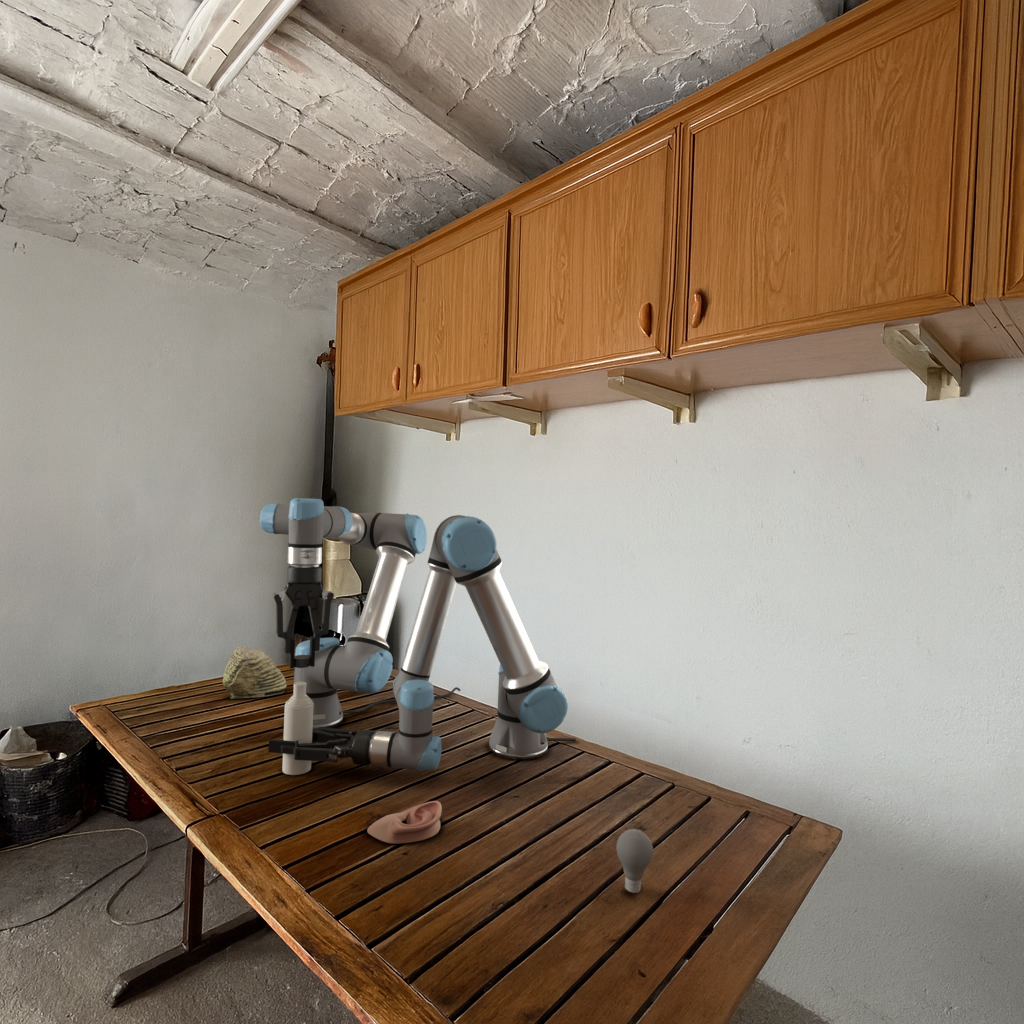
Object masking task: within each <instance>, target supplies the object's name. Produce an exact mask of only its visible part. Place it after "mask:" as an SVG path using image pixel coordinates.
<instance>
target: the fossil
mask: <svg viewBox="0 0 1024 1024" xmlns="http://www.w3.org/2000/svg"><path fill="white" fill-rule="evenodd" d="M222 676H223V677H222V685H223V687H224V688H225V690H226V691H228V693H229V698H230V699H250V698H264V697H271V696H275V695H281V694H284V693H285V691H286V689H287V687H288V686H287V680H286V678H285V676H284V674H283V673H282V672H281V669H279V668H278V667H277V665H276V663H275V662H274V660H273V659H272V658H271V657H270V656H269V655H268V654H267V653H266V652H265V650H264V649H263V648H260V647H258V648H251V647H247V646H246V647H245V646H238V647H237V648H236V649H235V650H233V651H232V653H231V656H230V657H229V659H228V660H227V663H226V666H225V668H224V671H223V675H222Z"/></svg>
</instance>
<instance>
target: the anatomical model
mask: <svg viewBox="0 0 1024 1024" xmlns="http://www.w3.org/2000/svg"><path fill="white" fill-rule="evenodd" d="M442 812H443V807H442V804H441V802H440V801H438V800H431V801H426V802H424V803H421V804H418V805H415V806H412V807H410V808H408V809H405V810H403V811H401V812H397V813H391V814H387V815H385V816H383V817H381V818H379V819H377V820H376V821H374V822H373V823H372V824H371V825H369V826H368V828H367V831H366V832H367V833H368V834H369V835H370V836H372V837H373V838H375V839H377V840H379V841H381V842H384V843H387V844H394V845H395V844H408V843H414V842H420V841H424V840H426V839H429V838H432V837H434V836H436V835H437V834H438V833H439V831H440V829H441V820H440V819H441V816H442Z"/></svg>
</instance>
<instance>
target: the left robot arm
mask: <svg viewBox="0 0 1024 1024" xmlns="http://www.w3.org/2000/svg"><path fill="white" fill-rule="evenodd" d="M259 525H260V527H261V529H262V530H263V532H265V533H268V534H274V535H288V544H287V564H288V567H286V568H287V569H286V570H287V571H286V585H285V587H284V588H283V589H284V590H282V591H280V592H274V593H273V594H272V597H273V599H274V602H275V633H276V636H277V637H278V638H282V639H284V652H285V654H288V667H289V669H294V672H293V684H294V683H296V682H305V683H306V684H307V685H306V695H307V696H308V697H309V698H310V699H311V700H312V701H313V703H314V704H313V730H314V729H316V730H318V727H325V728H334V729H336V728H337V727H339V726H340V725H342V723H343V722H344V714H357V713H361V712H364V711H366V710H367V709H369V708H371V707H374V706H377V705H380V704H386V703H393V702H397V701H396V699H395V698H392V699H385V700H384V699H383V700H380V701H376V702H375V701H374V702H372V703H370V704H368V705H366V706H364V707H363V708H360V709H355V710H353V709H350V710H349V709H348V710H343V709H342V706H341V702H340V699H339V695H338V690H339V691H340V690H341V691H347V692H354V693H357V694H358V693H359V694H376V693H379V692H380V691H381V690H382V689H383V688H384V687H385V685H386V684H387V683H388V681H389V679H390V677H391V675H392V671H393V668H394V667H393V662H394V659H393V655H392V653H391V652H390V651H389V650H390V645H389V644H388V642H387V638H388V634H389V632H390V631H389V630H390V627H391V624H392V621H393V616H394V612H395V610H396V606H397V602H398V600H399V597H400V592H401V589H402V586H403V581H404V579H405V574H406V571H407V568H408V565H410V564H412V563H414V561H415V559H416V555H420V554H422V553H424V551H425V550H426V548H427V541H428V534H427V528H426V525H425V521H424V520H423V518H422V517H421V516H419V515H417V514H409V513H389V512H362V513H361V512H360V513H359V512H358V513H356V512H350V510H349V509H347V508H346V507H343V506H339V505H331V506H325V505H324V501H323V499H322V498H308V497H307V498H303V497H302V498H301V497H294V498H292V499H291V500H290V502H289V504H285V503H284V504H283V503H279V502H278V503H268V504H266V505H265V506H263V508H262V509H261V511H260V513H259ZM323 539H326V540H334V541H340V542H341V543H342V544H344V545H348V546H355V547H358V548H362V549H367V550H371V551H375V553H376V555H377V556H378V560H377V562H376V567H375V570H374V573H373V575H372V579H371V582H370V586H369V589H368V592H367V595H366V599H365V602H364V605H363V608H362V612H361V615H360V618H359V621H358V624H357V627H356V631H355V633H353V634H352V635H350V636H348V638H347V641H346V644H345V645H340V644H341V643H340V642H341V641H340V639H339V638H337V637H323V636H326V635H328V634H329V630H330V619H331V618H330V617H331V606H332V605H331V604H332V602H333V599H334V597H335V594H334V593H333V591H330V590H326V589H324V587H323V585H322V572H323V570H322V567H321V564H322V563H323ZM286 596H287V598H288V599H289V601H290V602H291V604H290V610H289V614H288V618H287V623H286V627H285V631H284V606H283V602H284V601H285V597H286ZM320 597H322V600H323V602H322V603H323V604H322V614H321V615H322V617H321V628H320V624H319V623H320V622H319V619H318V613H317V606H316V602H317V601H318V600H319V598H320ZM303 606H306V607H307V608H308V611H309V616H310V617H309V618H310V623H311V629H312V634H313V635H310V636H309V639H307V640H304V641H302V642H299V643H298V644H297V645H296V647H295V644H296V643H295V642H296V640H295V638H294V637H293V632H294V628H295V624H296V620H297V616H298V612H299V609H300V607H303ZM296 655H309V656H311V665H310V666H309V667H305V668H295V667H294V656H296ZM456 690H457V692H461V688H460V687H458V686H456V687H454V688H453V689H452V690H451V691H450V692H449V693H446V694H442V695H435V696H434V700H436V699H443V698H447V697H450V696H451V695H453V693H455V691H456Z"/></svg>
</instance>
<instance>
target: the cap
mask: <svg viewBox="0 0 1024 1024" xmlns="http://www.w3.org/2000/svg"><path fill="white" fill-rule="evenodd" d="M310 665H311V656H309V655H296V656H295V655H294V668H305V667H309V666H310Z"/></svg>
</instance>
